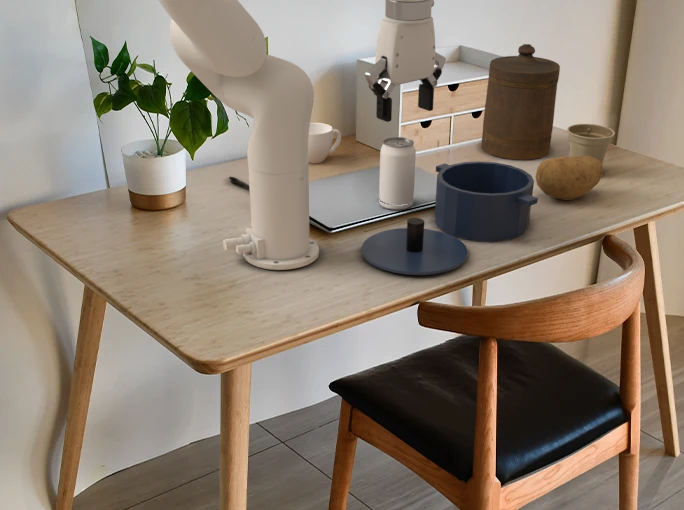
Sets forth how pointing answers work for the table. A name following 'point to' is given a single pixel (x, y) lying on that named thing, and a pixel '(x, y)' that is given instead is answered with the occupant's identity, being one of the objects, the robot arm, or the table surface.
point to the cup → (321, 141)
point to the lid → (414, 250)
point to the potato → (568, 176)
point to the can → (397, 173)
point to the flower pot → (589, 140)
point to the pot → (483, 200)
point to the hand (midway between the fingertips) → (404, 114)
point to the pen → (239, 183)
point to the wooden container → (520, 105)
